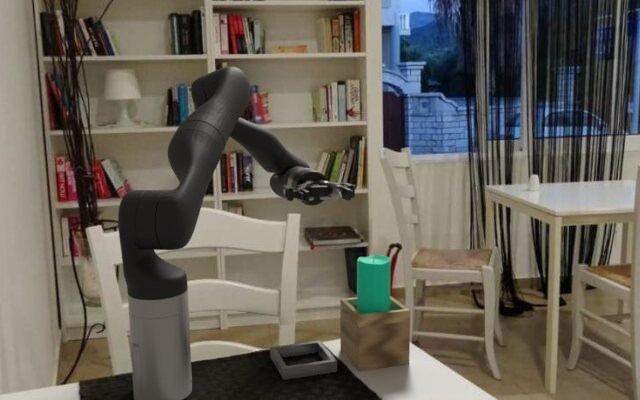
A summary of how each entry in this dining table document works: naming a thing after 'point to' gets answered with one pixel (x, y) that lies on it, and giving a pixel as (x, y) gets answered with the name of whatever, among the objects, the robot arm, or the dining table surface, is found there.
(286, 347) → the grey square tray
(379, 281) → the candle
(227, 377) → the dining table surface
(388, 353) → the wooden storage box
